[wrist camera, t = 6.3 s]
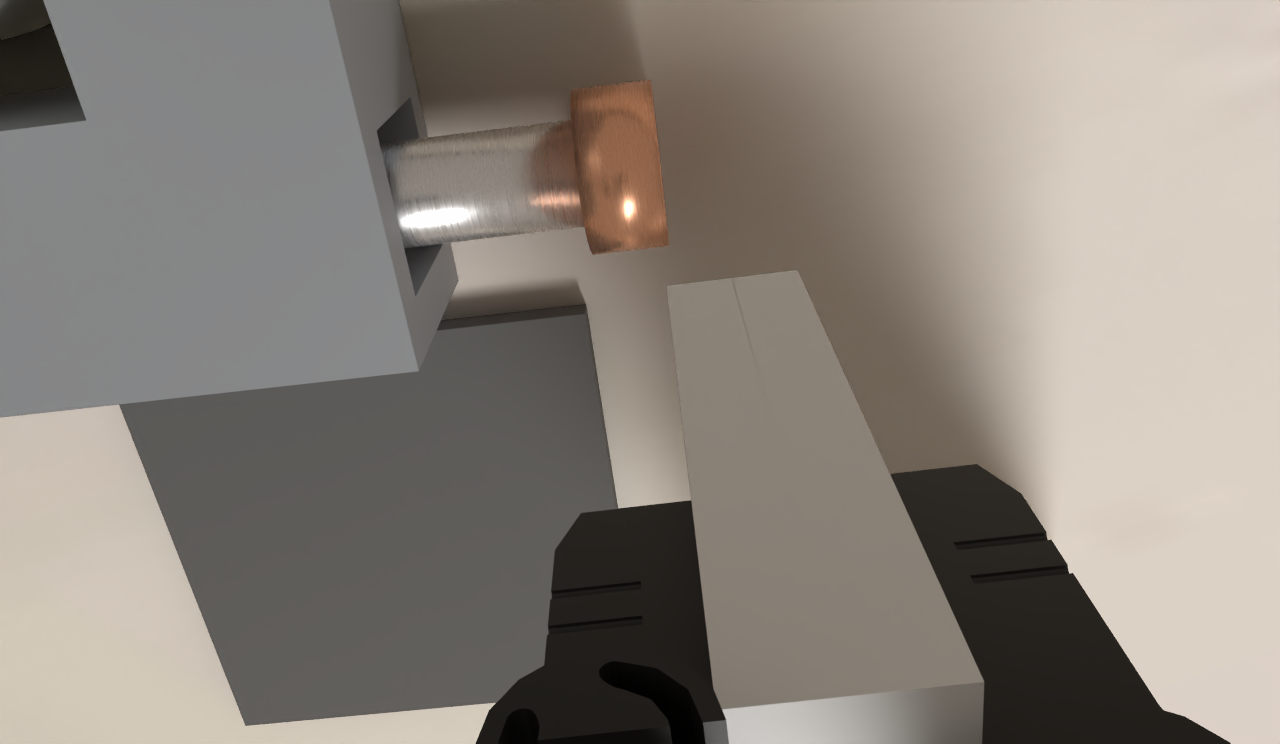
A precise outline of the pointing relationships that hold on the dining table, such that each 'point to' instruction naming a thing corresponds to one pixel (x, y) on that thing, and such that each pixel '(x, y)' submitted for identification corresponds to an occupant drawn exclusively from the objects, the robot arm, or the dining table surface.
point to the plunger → (539, 177)
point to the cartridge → (21, 17)
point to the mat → (385, 518)
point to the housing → (211, 205)
